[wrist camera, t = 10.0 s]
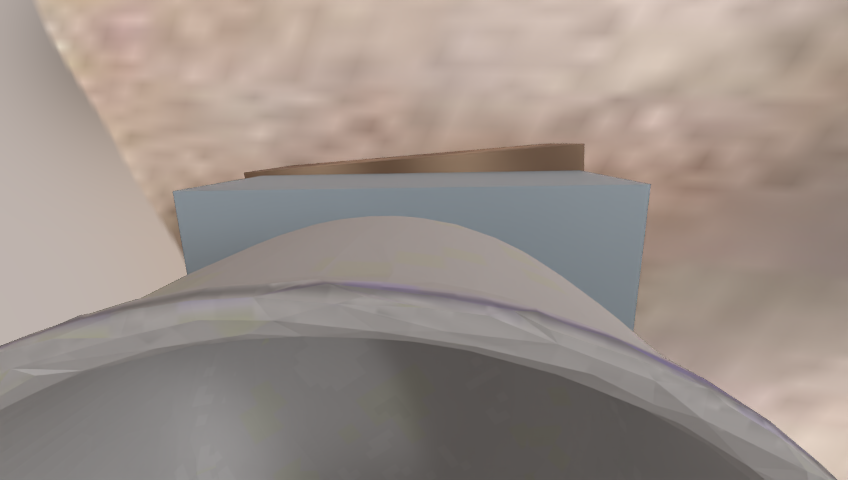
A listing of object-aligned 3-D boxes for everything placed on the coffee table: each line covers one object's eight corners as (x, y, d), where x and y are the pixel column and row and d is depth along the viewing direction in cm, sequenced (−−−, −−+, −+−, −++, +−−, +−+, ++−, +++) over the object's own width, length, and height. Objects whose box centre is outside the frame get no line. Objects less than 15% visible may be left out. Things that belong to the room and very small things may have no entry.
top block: (578, 170, 17) (650, 184, 11) (558, 443, 20) (605, 566, 14) (262, 175, 18) (172, 191, 12) (293, 438, 21) (235, 552, 15)
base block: (547, 143, 22) (584, 143, 16) (549, 374, 26) (580, 442, 20) (293, 165, 23) (244, 172, 18) (329, 384, 27) (297, 451, 21)
